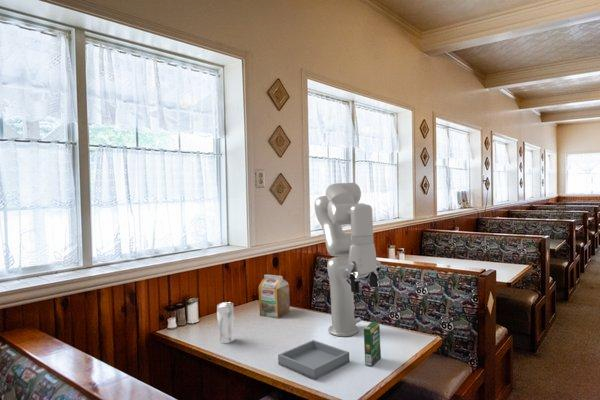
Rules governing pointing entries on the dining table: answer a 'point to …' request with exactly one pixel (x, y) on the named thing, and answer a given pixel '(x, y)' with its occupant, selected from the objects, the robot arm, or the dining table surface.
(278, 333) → the dining table surface
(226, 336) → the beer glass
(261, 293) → the milk carton
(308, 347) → the grey tray
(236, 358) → the dining table surface
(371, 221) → the robot arm
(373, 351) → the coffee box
